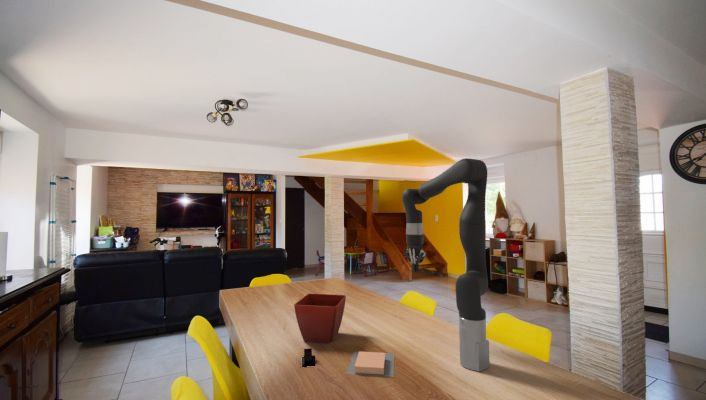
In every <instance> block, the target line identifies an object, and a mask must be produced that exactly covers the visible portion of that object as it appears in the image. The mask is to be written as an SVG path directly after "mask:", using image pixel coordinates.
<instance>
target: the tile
mask: <svg viewBox="0 0 706 400" xmlns="http://www.w3.org/2000/svg"><path fill="white" fill-rule="evenodd" d="M358 352H359V353H358V357H357V360H356V363H355V373H364V374H380V375H384V368H385V353H386V352H375V351H358Z"/></svg>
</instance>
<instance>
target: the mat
mask: <svg viewBox="0 0 706 400" xmlns="http://www.w3.org/2000/svg"><path fill="white" fill-rule="evenodd" d="M358 353H359V351H353V353H352V357H351V360H350V362H349V365H348V369H347V371H346V375H353V376H354V375H355V376H366V377H367V376H368V377H383V378H394V376H395V375H394V374H395V372H394V371H395V353H388V352H387V353H386V352H384V353H385V368H384V375H380V374H364V373H355V363H356V360H357V357H358Z"/></svg>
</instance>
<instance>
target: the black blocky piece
mask: <svg viewBox="0 0 706 400" xmlns="http://www.w3.org/2000/svg"><path fill="white" fill-rule="evenodd" d="M303 351H304V352H303V356H304V357H302V356H301V357H302V367H304V368H308V367H307V366H315V367H316V365H315V361H316V355H315V354H314V355H313V348H311V347H310V348H303Z"/></svg>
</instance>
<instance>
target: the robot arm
mask: <svg viewBox="0 0 706 400" xmlns="http://www.w3.org/2000/svg"><path fill="white" fill-rule="evenodd" d="M487 182H488V167H487V165H486V163H485V162H484V161H483V160H481V159H475V158H467V157H465V158H462V159H460V160H458V161H457V162H454V163H453V165H451V166H450V167H449V168H447V169H445V170H444V171H443V172H441V174H439V175H437V176H435V177H434V178H432V179H429V180H427V181H424V183H421V184H420V185H419V187H418V188H406V189H405V190H404V191H403V192H402V197H401V198H402V204H403V207H404V211H405V214H406V219H405V220H406V226H405V227H406V228H405V235H406V236H405V237H406V238H405V239H406V240H405V241H406V244H407V249H403V253H404V255H405V257H406V259H407V261H408V262H409V263H411V271H412V273H418V272H419V268H420V266H419V265H420V264H421V263H423V262H424V259H426V256H427V254H428V253H427V252H426V251H424V249H423V244H424V225H423V212H422V210H420V209H417V208H416V205H423V204H424V203H426V202H427V201H429V200H430V199H431V198H434V197H436V196H439V195H440V194H442V193H444V192H445V191H446V189H447V188H449V187H451V186H452V185H453V186H454V185H458V184H467V187H468V188H467V198H466V202H465V204H464V206H463V208H462V210H461V213H460V215H459V219H458V220H459V223H458V224H459V225H458V229H459V231H458V234H459V241H460V243H461V246H462V248H463V251H464V253H465V259H466V261H465V262H466V265H465V273H463V274H460V275H459V276H458V277H457V279H456V281H455V301H456V308H457V311H458V323H459V324H458V326H459V327H458V328H459V334H458V335H459V361H460V362H459V363H460V366H462V367H463V368H465V369H468V370H471V371H476V372H478V373H479V372H481V371H484V370H487V369H489V368H490V367H491V366H490V364H491V363H490V341H489V340H488V339H487V315H486V314H487V312H486V309H485V308H483V307H482V296H483V295H485V294H486V293H487V291H488V289H489V280H488V279H489V277H488V271H487V258H486V252H487V251H486V250H487V249H486V248H487V246H486V237H487V236H486V235H487V234H486V233H487V231H486V227H487V225H486V224H487V223H486V196H487V195H486V193H487Z"/></svg>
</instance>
